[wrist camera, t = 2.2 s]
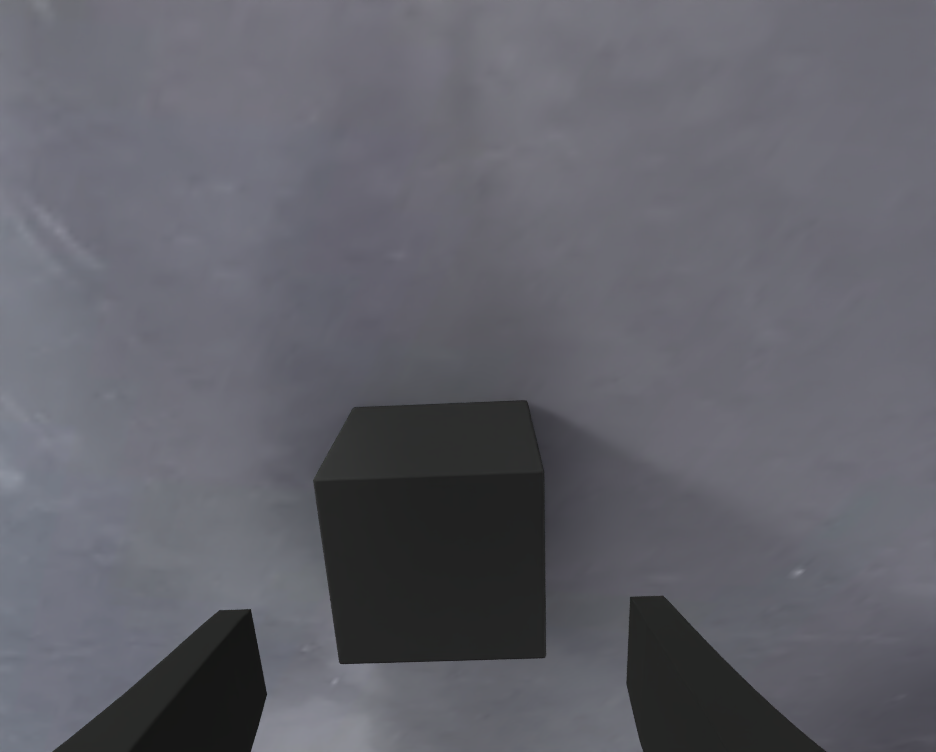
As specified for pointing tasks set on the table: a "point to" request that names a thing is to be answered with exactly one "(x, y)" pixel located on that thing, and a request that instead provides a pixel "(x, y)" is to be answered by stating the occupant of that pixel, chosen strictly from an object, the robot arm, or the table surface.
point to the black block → (435, 533)
